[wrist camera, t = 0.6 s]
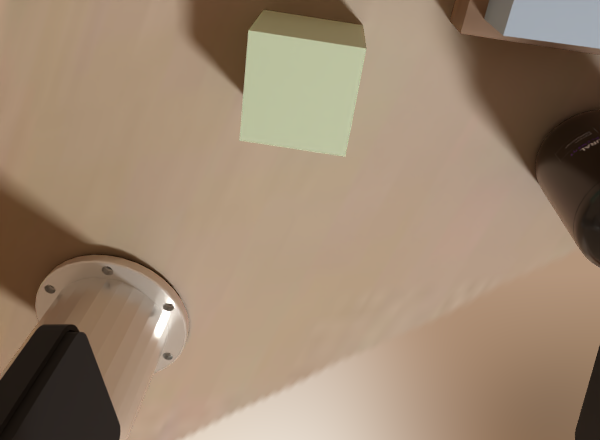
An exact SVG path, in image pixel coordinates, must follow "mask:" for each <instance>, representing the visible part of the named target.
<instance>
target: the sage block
mask: <svg viewBox="0 0 600 440" xmlns="http://www.w3.org/2000/svg"><path fill="white" fill-rule="evenodd" d="M365 53H366V43H365V36H364V29H363V25H359V24H353V23H346V22H340V21H333V20H327V19H321V18H314V17H308V16H301V15H295V14H288V13H282V12H276V11H269V10H263V11H262V12H261V14H260V15H259V17H258V18H257V19H256V21H255V22H254V23H253V25H252V26H251V27H250V29H249V30H248V42H247V54H246V66H245V79H244V91H243V103H242V116H241V128H240V140H239V141H246V142H252V143H259V144H265V145H272V146H279V147H285V148H292V149H298V150H305V151H311V152H318V153H324V154H331V155H337V156H344V157H345V156H346V151H347V146H348V140H349V135H350V130H351V125H352V120H353V115H354V110H355V104H356V99H357V94H358V89H359V84H360V79H361V74H362V69H363V63H364V58H365Z"/></svg>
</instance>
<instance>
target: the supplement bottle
mask: <svg viewBox="0 0 600 440" xmlns="http://www.w3.org/2000/svg"><path fill="white" fill-rule="evenodd" d="M535 170H536V177H537V180H538V183H539V185H540V187H541V189H542V190H543V192H544V194H545V195H546V197H547V199H548V200H549V202H550V203H551V205H552V206H553V208H554V210H555V211H556V213H557V214H558V216H559V217H560V219H561V221H562V222H563V224H564V225H565V227H566V229H567V230H568V232H569V233H570V235H571V236H572V238H573V240H574V241H575V243H576V244H577V246H578V247H579V249H580V250H581V251H582V253H583V254H584V255H585V257H586V258H587V259H588V260H589V261H591V262H592V263H594V264H595V265H596V266H598V267H600V110H594V111H588V112H584V113H581V114H578V115H576V116H573V117H571V118H569V119H567V120H566V121H564V122H563V123H561V124H560V125H558V126H557V127H556V128H555V129H554V130H553V131H552V132H551V133H550V134H549V135H548V136H547V137H546V139H545V140H544V142H543V143H542V145H541V147H540V149H539V151H538V154H537V158H536V165H535Z"/></svg>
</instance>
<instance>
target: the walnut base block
mask: <svg viewBox="0 0 600 440" xmlns="http://www.w3.org/2000/svg"><path fill="white" fill-rule="evenodd" d="M488 3H489V0H455V3H454V7H453V10H452V14H451V18H450V22H451V23H452V24H453V25H454V26H455V28H456V29H457V30H458V31H459V32H460V33H461V34H467V35H473V36H480V37H486V38H493V39H499V40H506V41H513V42H519V43H526V44H532V45H539V46H545V47H552V48H558V49H565V50H571V51H578V52H584V53H591V54H597V55H600V49H599V48H591V47H584V46H577V45H569V44H562V43H554V42H547V41H539V40H532V39H525V38H517V37H510V36H503V35H502V34H501V33H500V32H499V31H497V30H496V29H495V28H494V27H493V26H492V25H490V24H489V23H488V22H487V21H486V20H485V19H484V17H485V14H486V10H487V7H488Z"/></svg>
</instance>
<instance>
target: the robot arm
mask: <svg viewBox="0 0 600 440" xmlns="http://www.w3.org/2000/svg"><path fill="white" fill-rule="evenodd" d="M35 309H36V315H37V319H38V321H39V322H38V324H37V325H36V326H35V328H34V329H33V330H32V332H31V333H30V335H29V336H28V337H27V339H26V340H25V342H24V343H23V344H22V346H21V347H20V348H19V350H18V351H17V353H16V354H15V355H14V357H13V358H12V359H11V361H10V362H9V364H8V365H7V366H6V368H5V369H4V370H3V372H2V373H1V375H0V440H127V438H128V436H129V433H130V431H131V428H132V426H133V423H134V421H135V418H136V416H137V413H138V411H139V408H140V406H141V403H142V401H143V398H144V396H145V393H146V391H147V389H148V386H149V384H150V381H151V379H152V376H153V374H154V373H157V372H159V371H161V370H163V369H165V368H167V367H168V366H169V365H171V364H172V363H173V362H175V360H176V359H177V358H178V357H179V356H180V354H181V352H182V350H183V348H184V346H185V343H186V340H187V337H188V333H189V320H188V315H187V311H186V309H185V307H184V305H183V302H182V300H181V299H180V297H179V296H178V295H177V293H176V292H175V290H174V289H173V288H172V287H171V286H170V285H169V284H168V283H167V282H166V281H165V280H164V279H163V278H161V277H160V276H158V275H157V274H156V273H154V272H153V271H151V270H149V269H148V268H146V267H144V266H142V265H140V264H138V263H135V262H132V261H129V260H126V259H124V258H119V257H114V256H108V255H87V256H80V257H76V258H73V259H70V260H67V261H65V262H63V263H62V264H60V265H58V266H57V267H55V268H54V269H53V270H52V271H51V272H50V273H49V274H48V275H47V277H46V278H45V279H44V281H43V282H42V283H41V285H40V287H39V290H38V292H37V295H36V302H35ZM575 440H600V346H599V350H598V353H597V357H596V360H595V364H594V367H593V371H592V374H591V378H590V381H589V385H588V388H587V392H586V395H585V399H584V403H583V406H582V409H581V413H580V417H579V420H578V423H577V427H576V432H575Z"/></svg>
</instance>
